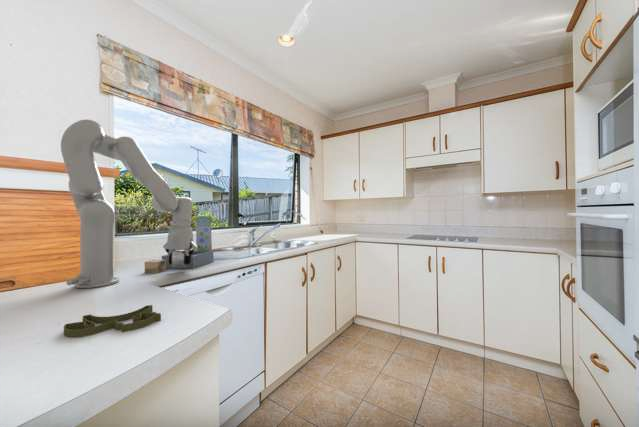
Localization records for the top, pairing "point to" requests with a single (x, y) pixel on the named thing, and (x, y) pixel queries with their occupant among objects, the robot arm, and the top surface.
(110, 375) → the top surface
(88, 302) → the top surface
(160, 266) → the kraft carton
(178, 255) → the steel tin
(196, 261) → the tote
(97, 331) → the cookie cutter
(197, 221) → the snack box
